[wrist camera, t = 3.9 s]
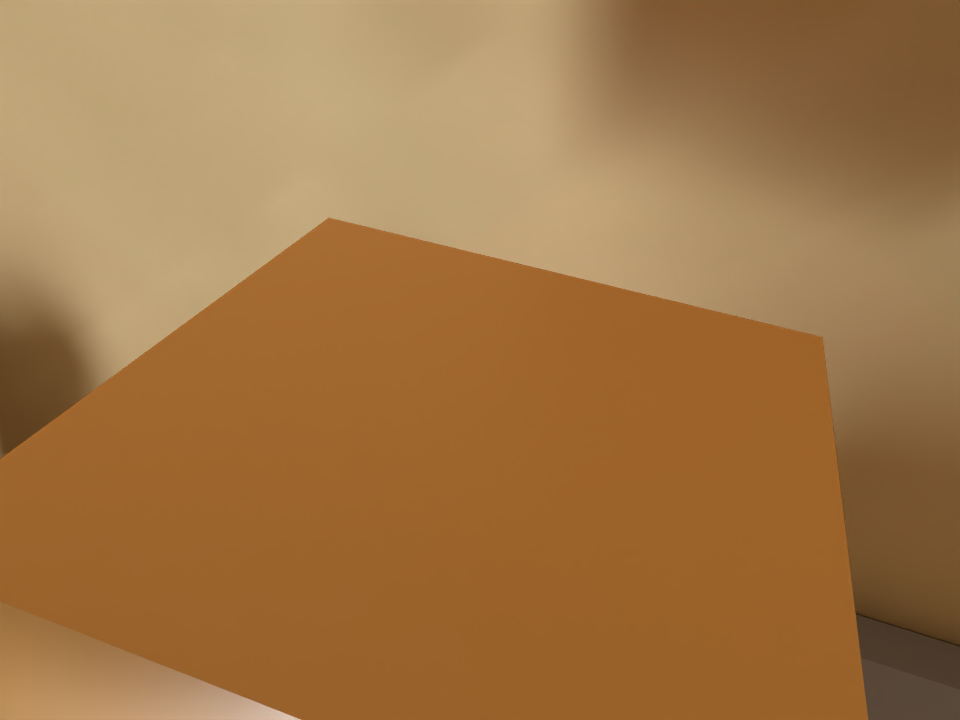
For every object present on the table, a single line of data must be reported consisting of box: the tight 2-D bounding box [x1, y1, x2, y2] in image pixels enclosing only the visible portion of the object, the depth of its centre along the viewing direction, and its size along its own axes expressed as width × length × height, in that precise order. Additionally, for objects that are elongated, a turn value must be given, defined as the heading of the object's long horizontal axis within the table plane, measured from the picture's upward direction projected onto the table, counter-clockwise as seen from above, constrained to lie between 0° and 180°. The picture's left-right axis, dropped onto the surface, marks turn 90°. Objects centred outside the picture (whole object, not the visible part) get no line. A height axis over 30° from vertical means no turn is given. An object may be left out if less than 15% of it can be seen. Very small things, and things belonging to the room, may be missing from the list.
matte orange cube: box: [0, 218, 868, 720], centre depth 8 cm, size 6×6×6 cm
